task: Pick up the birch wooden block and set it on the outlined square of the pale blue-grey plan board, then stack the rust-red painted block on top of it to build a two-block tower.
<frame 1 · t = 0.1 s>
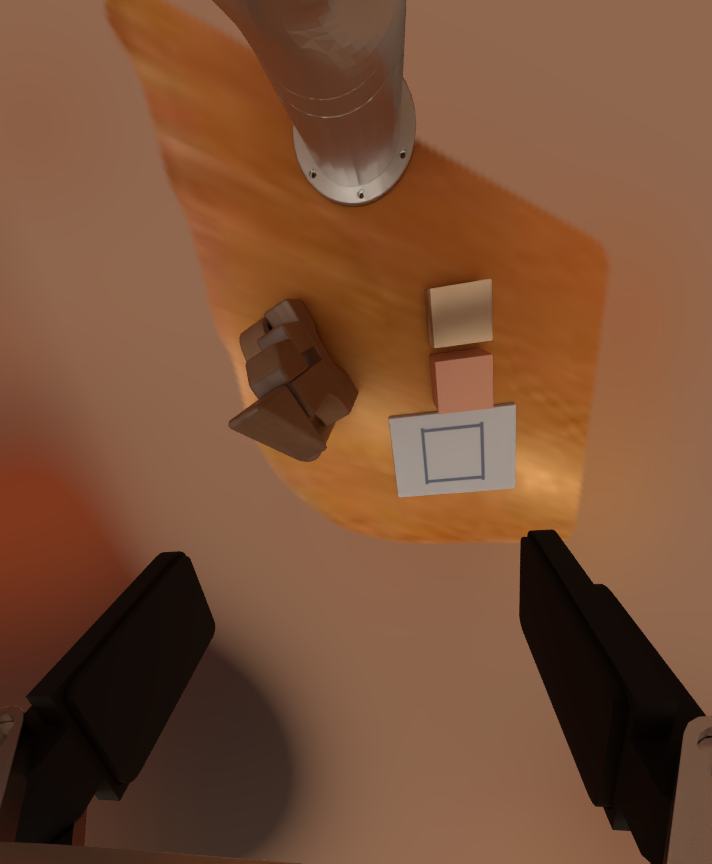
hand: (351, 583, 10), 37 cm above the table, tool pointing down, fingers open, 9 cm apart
plan board: (452, 451, 47), on the table
birch block: (452, 313, 41), on the table
wooden toy: (313, 366, 45), on the table
rust block: (455, 375, 43), on the table
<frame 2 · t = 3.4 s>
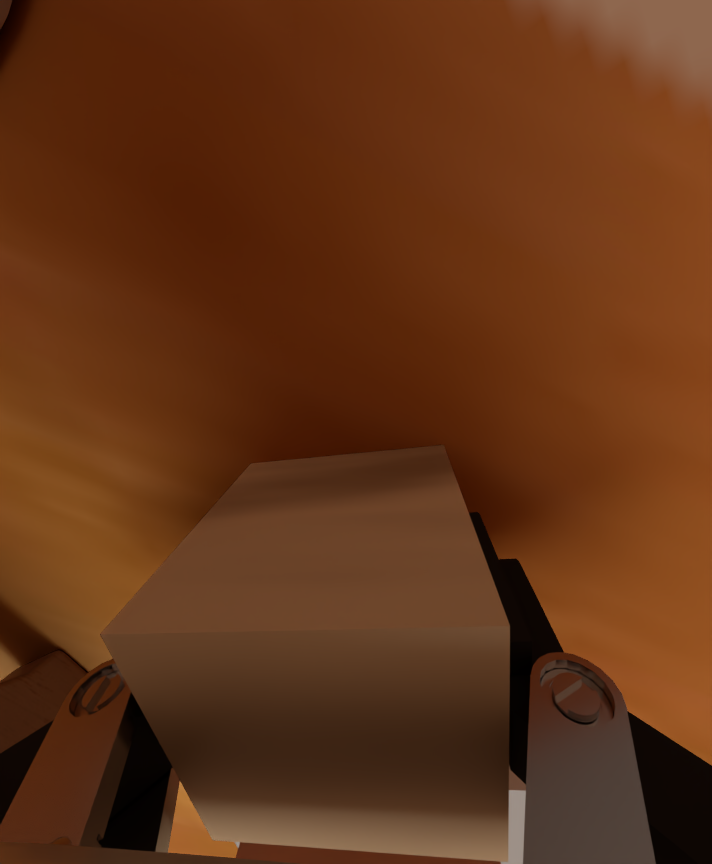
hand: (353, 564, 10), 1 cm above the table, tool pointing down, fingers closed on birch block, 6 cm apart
plan board: (389, 826, 18), on the table
birch block: (357, 535, 11), on the table, touching gripper
rust block: (383, 685, 14), on the table
when the fingers open (3 cm above the table, at t = 9.0 s): birch block drops 1 cm, resting on plan board.
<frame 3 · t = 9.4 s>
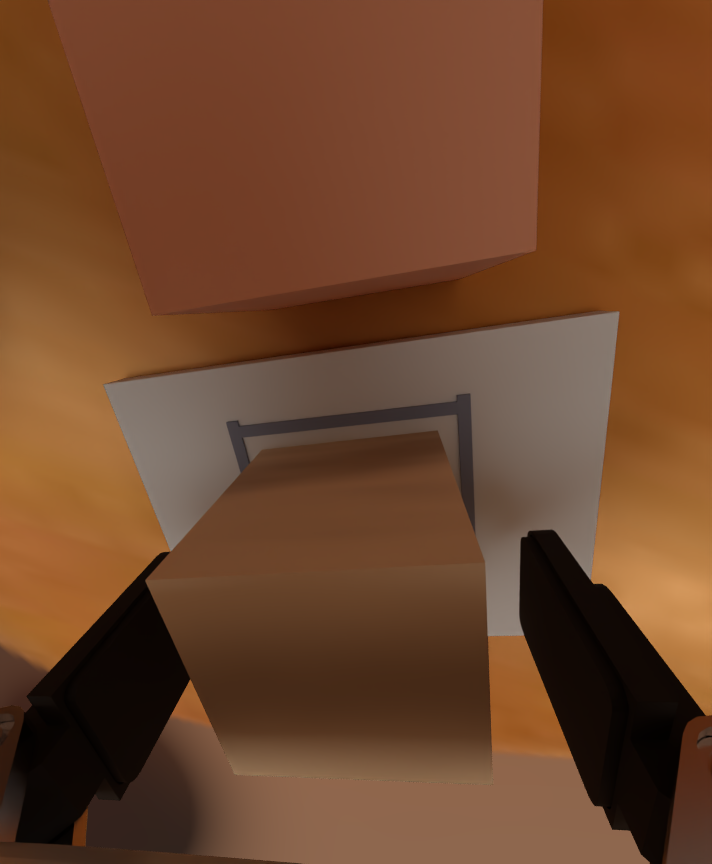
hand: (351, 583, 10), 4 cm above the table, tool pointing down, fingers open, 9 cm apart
plan board: (362, 503, 13), on the table
birch block: (359, 516, 12), point 1 cm above the table, touching plan board
rust block: (346, 184, 10), on the table
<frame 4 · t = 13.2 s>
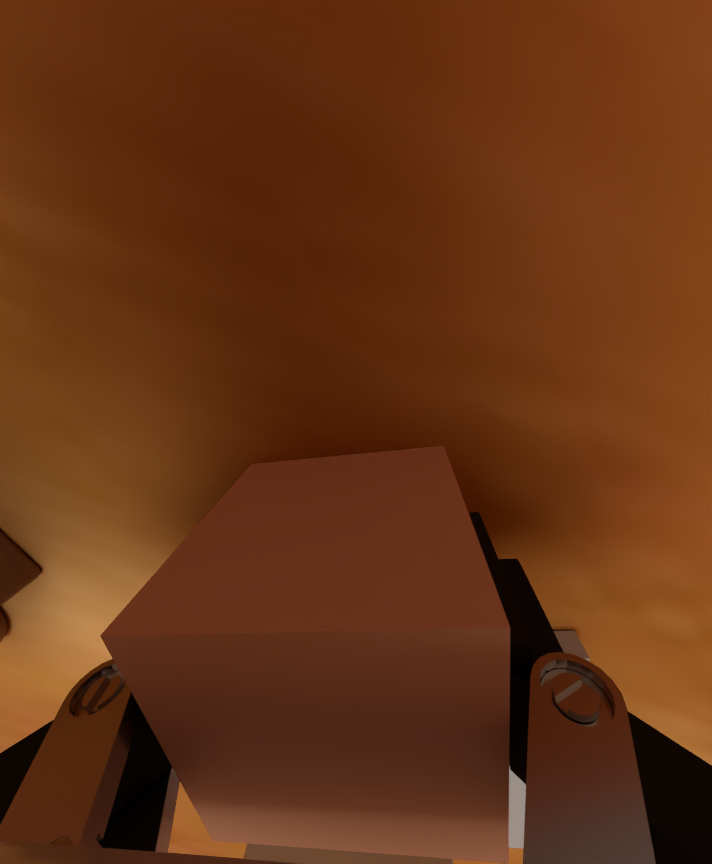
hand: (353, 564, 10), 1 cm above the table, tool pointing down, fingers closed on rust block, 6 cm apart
plan board: (369, 734, 15), on the table
birch block: (367, 761, 14), point 1 cm above the table, touching plan board
rust block: (357, 536, 11), on the table, touching gripper
when the fingers open (9 cm above the table, at t = 18.0 s): rust block drops 1 cm, resting on birch block.
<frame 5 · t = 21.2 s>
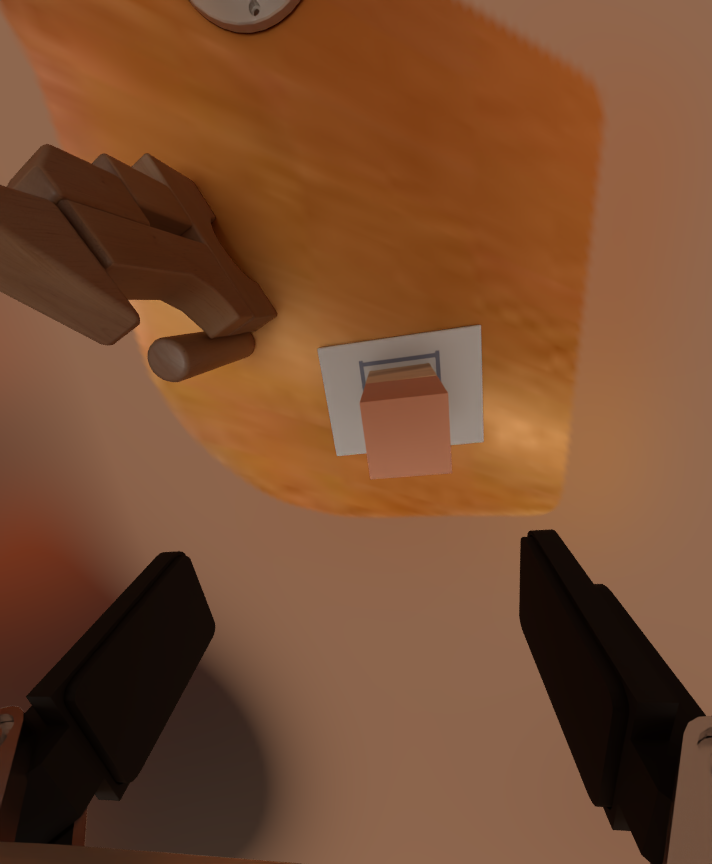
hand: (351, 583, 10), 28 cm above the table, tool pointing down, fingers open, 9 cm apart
plan board: (402, 394, 36), on the table
birch block: (402, 395, 35), point 1 cm above the table, touching plan board, rust block
wooden toy: (218, 279, 34), on the table
rust block: (404, 413, 30), point 7 cm above the table, touching birch block
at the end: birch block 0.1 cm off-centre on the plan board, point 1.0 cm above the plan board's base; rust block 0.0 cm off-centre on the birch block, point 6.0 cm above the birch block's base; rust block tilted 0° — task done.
